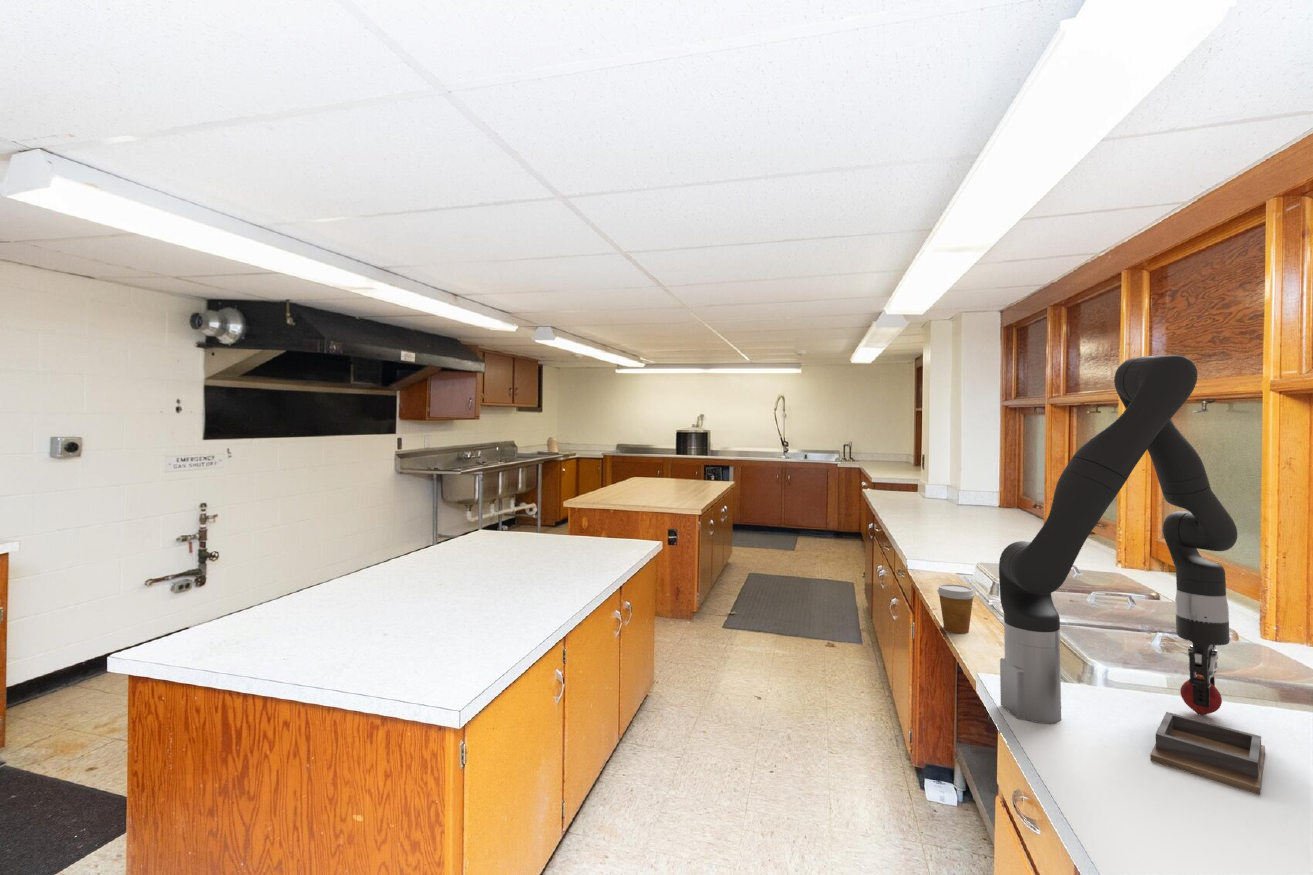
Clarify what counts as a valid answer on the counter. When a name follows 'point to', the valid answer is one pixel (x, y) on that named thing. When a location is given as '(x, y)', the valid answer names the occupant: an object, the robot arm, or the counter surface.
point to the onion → (1188, 699)
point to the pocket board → (1210, 751)
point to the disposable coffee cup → (956, 607)
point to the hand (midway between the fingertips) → (1204, 699)
